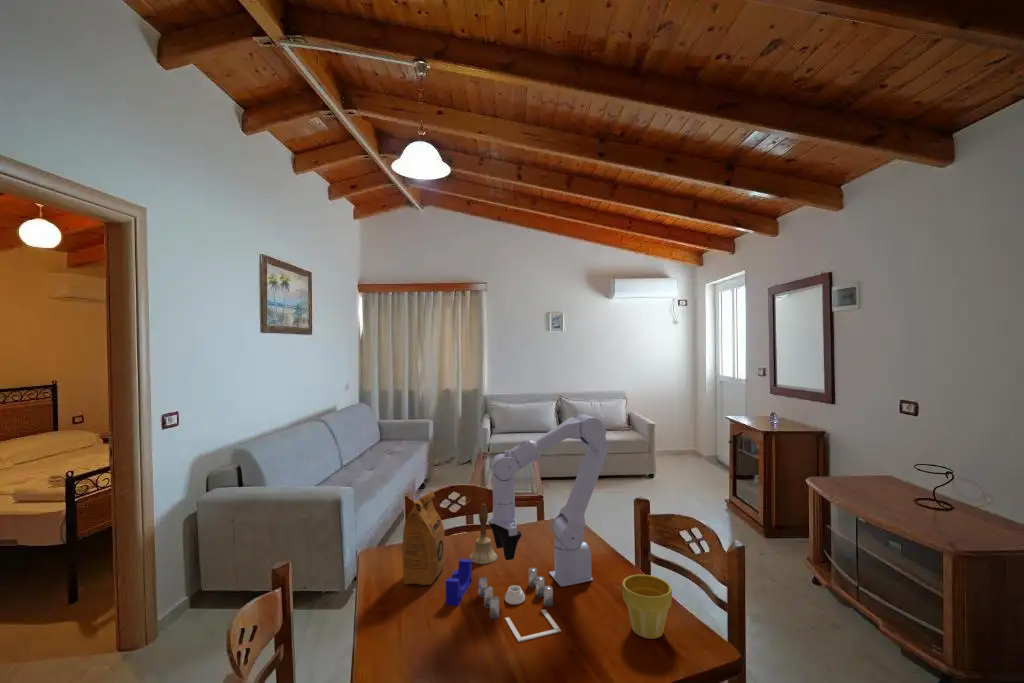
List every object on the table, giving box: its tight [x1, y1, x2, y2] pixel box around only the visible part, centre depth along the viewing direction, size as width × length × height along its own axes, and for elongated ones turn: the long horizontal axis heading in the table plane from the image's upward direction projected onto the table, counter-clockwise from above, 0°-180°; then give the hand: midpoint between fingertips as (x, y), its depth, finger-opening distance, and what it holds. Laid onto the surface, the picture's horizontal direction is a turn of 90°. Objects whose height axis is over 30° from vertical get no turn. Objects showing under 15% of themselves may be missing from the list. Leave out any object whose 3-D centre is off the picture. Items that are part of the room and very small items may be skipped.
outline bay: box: [504, 608, 562, 643], centre depth 105 cm, size 10×9×1 cm
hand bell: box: [469, 503, 498, 565], centre depth 140 cm, size 8×8×16 cm
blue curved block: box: [445, 558, 473, 607], centre depth 120 cm, size 12×4×6 cm, turn 169°
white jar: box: [504, 584, 526, 605], centre depth 116 cm, size 5×3×5 cm
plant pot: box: [621, 574, 673, 640], centre depth 103 cm, size 10×10×10 cm
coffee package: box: [401, 490, 446, 586], centre depth 129 cm, size 10×12×22 cm
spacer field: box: [477, 567, 554, 620], centre depth 116 cm, size 16×12×4 cm
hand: (504, 553), depth 123 cm, fingers open, 7 cm apart
